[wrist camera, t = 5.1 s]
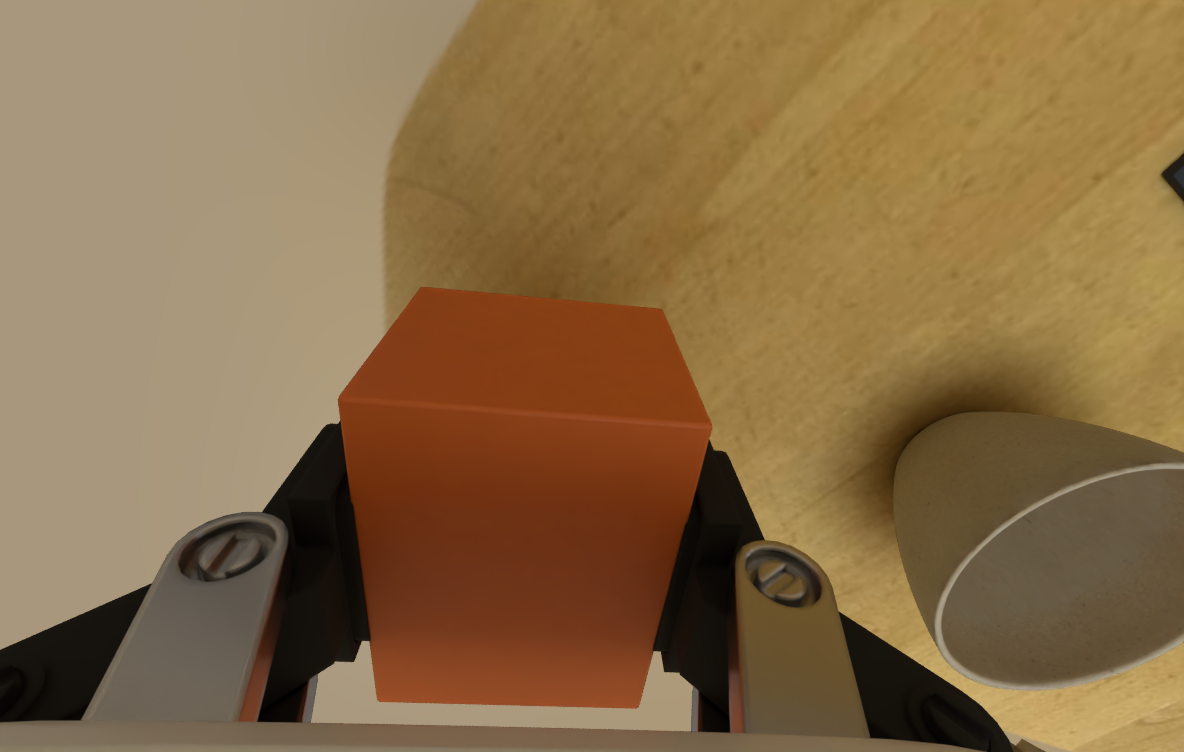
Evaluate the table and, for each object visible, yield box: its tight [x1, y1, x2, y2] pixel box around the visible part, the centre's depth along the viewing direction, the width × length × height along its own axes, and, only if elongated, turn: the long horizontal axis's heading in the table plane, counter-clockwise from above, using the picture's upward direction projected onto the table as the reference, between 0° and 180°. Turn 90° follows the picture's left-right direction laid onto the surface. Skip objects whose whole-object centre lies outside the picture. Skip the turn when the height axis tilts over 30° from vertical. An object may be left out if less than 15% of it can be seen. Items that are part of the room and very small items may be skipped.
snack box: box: [338, 287, 712, 709], centre depth 9 cm, size 6×4×4 cm
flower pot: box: [893, 412, 1184, 691], centre depth 20 cm, size 10×10×7 cm
